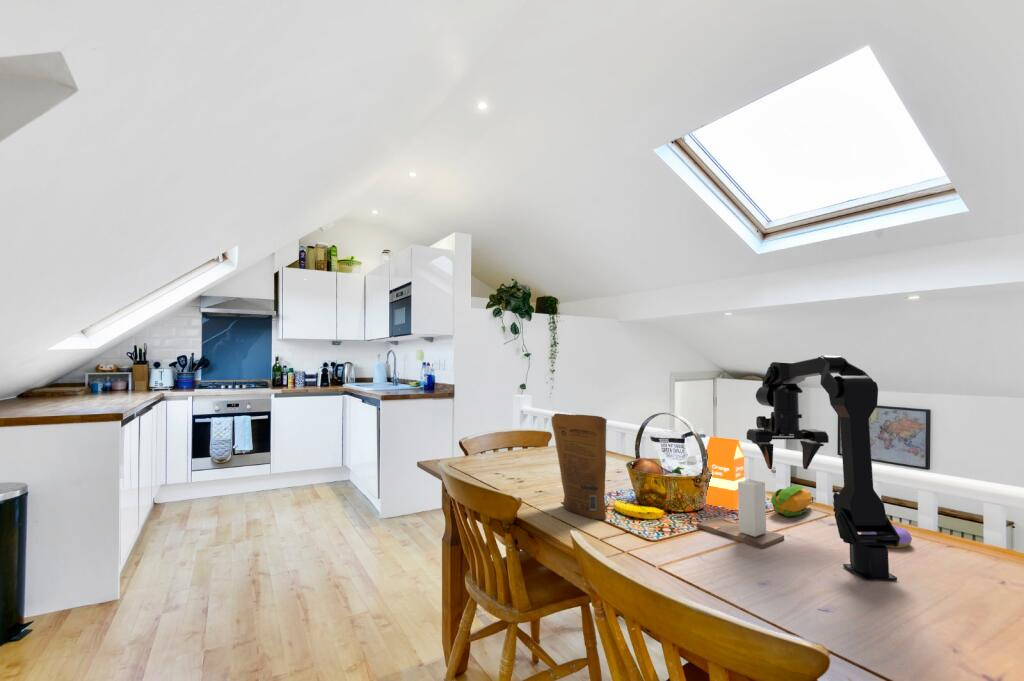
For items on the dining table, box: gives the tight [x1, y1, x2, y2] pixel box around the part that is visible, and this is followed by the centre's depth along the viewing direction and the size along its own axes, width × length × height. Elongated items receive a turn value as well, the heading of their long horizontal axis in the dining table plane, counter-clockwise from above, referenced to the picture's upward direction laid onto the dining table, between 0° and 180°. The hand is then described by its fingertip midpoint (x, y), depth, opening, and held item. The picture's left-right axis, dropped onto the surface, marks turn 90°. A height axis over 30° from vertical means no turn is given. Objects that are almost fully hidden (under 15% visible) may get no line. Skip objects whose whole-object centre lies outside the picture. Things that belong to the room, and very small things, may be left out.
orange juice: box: [706, 436, 746, 510], centre depth 142 cm, size 8×9×20 cm
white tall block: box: [737, 479, 767, 537], centre depth 116 cm, size 4×5×12 cm
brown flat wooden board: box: [696, 516, 785, 550], centre depth 118 cm, size 17×10×1 cm, turn 34°
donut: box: [860, 525, 913, 549], centre depth 113 cm, size 10×9×5 cm
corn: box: [770, 485, 813, 517], centre depth 136 cm, size 7×8×20 cm
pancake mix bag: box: [550, 412, 608, 520], centre depth 135 cm, size 7×19×28 cm, turn 39°
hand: (787, 468), depth 125 cm, fingers open, 9 cm apart
